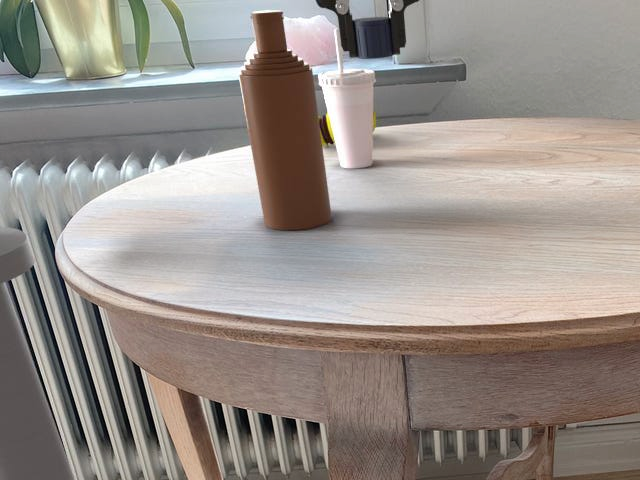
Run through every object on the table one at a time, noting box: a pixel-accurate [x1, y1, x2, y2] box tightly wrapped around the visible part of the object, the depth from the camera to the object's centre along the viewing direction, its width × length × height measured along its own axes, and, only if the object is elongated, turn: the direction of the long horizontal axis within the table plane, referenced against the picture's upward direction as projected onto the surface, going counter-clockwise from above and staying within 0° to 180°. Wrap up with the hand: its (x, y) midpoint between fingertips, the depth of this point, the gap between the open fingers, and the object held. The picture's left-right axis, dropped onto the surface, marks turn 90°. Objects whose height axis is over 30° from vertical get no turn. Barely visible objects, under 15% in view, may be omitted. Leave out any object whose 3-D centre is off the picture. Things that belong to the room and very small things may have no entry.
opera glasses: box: [318, 107, 377, 147], centre depth 114 cm, size 10×5×5 cm, turn 167°
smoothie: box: [317, 28, 377, 169], centre depth 99 cm, size 6×6×14 cm
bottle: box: [238, 9, 333, 231], centre depth 80 cm, size 6×6×18 cm
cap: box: [353, 16, 394, 60], centre depth 87 cm, size 4×4×3 cm
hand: (374, 54), depth 88 cm, fingers closed on cap, 3 cm apart
